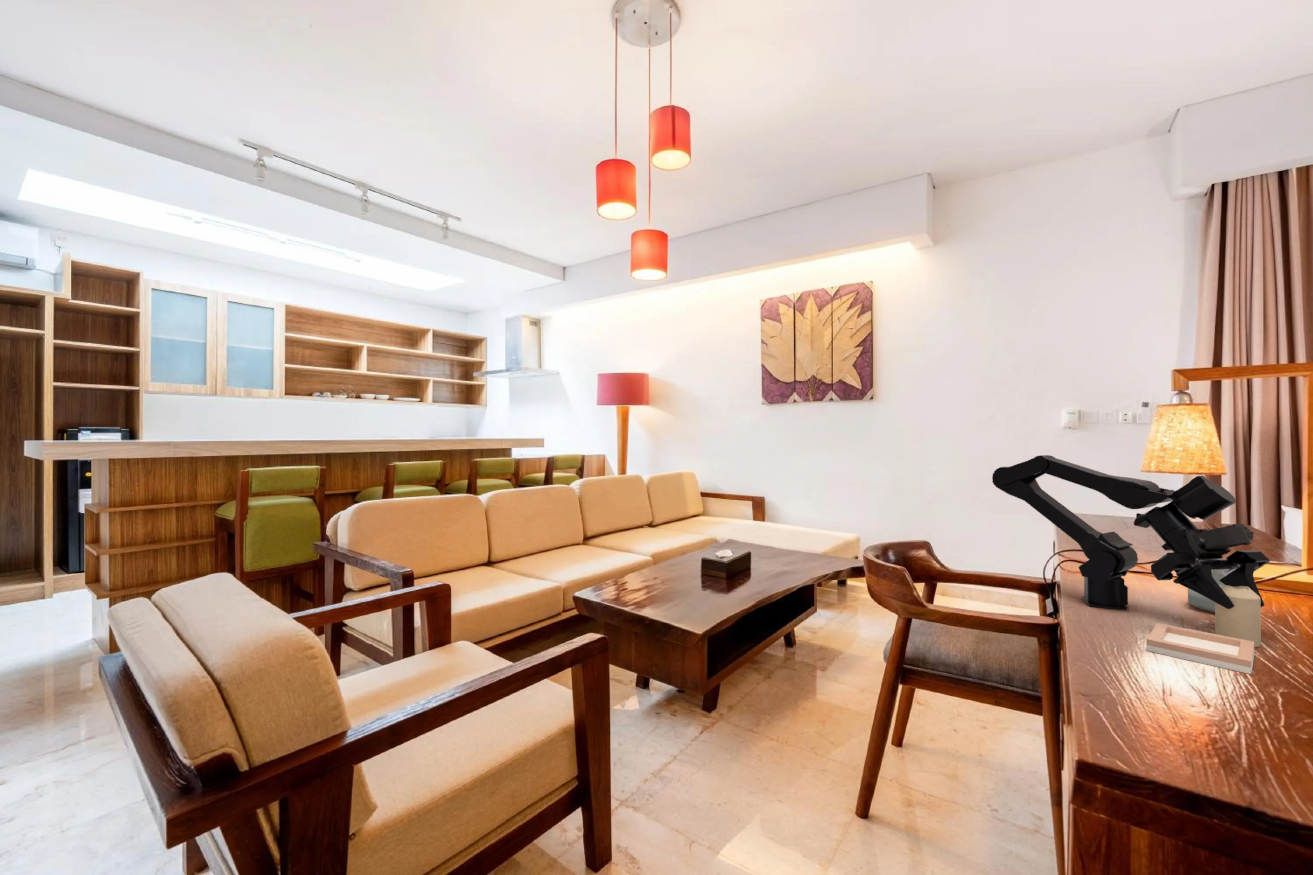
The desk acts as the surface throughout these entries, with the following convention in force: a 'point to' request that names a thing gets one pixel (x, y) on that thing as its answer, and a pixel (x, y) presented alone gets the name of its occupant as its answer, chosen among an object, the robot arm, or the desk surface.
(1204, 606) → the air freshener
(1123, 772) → the desk surface
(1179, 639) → the tray
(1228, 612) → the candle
